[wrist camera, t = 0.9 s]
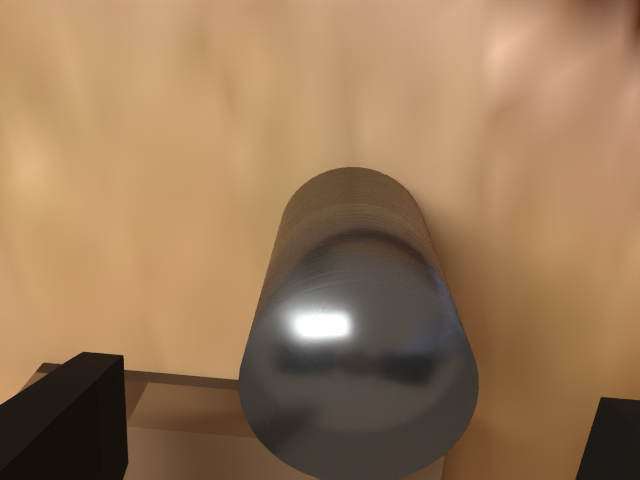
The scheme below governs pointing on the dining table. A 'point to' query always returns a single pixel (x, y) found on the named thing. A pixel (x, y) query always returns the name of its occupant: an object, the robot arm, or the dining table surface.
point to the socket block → (198, 432)
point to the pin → (356, 337)
